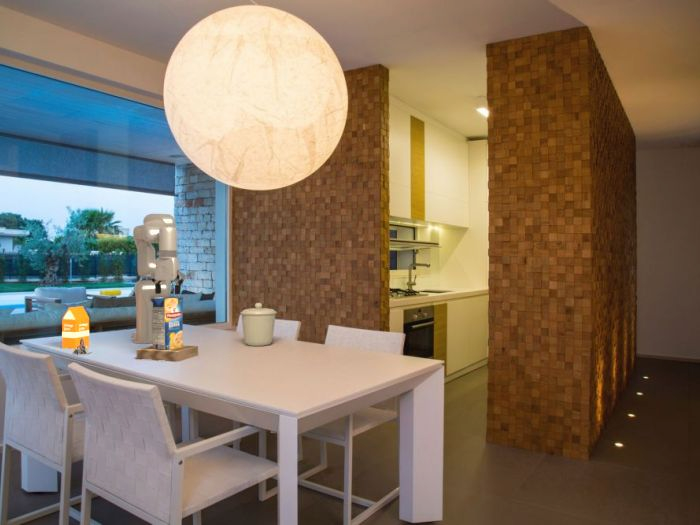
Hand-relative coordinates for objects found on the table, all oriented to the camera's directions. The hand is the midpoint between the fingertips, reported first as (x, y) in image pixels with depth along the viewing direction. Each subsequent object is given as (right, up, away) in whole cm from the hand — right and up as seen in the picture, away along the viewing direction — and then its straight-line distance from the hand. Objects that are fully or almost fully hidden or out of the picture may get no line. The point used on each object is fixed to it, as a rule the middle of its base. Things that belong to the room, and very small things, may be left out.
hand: (167, 293), depth 238 cm
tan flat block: (0, -28, 0) cm, 28 cm away
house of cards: (-42, -28, +4) cm, 50 cm away
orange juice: (-51, -28, +21) cm, 62 cm away
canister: (+34, -28, +35) cm, 56 cm away
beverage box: (0, -24, 0) cm, 24 cm away
